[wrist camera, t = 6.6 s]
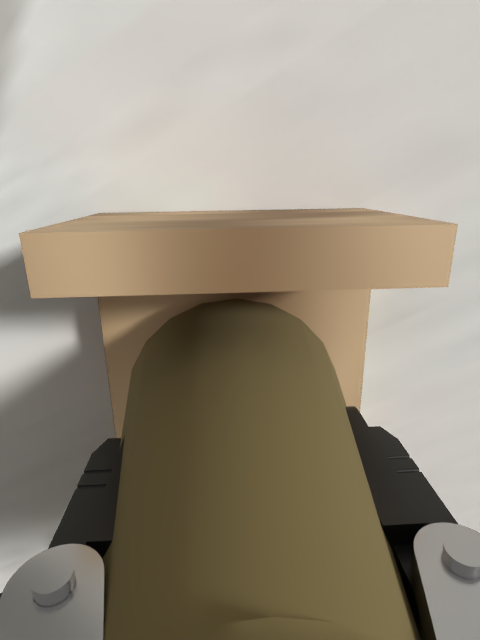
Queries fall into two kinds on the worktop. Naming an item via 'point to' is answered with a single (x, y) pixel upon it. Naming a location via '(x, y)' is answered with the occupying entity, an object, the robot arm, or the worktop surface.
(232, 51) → the worktop surface
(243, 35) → the worktop surface
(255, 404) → the olive rounded piece
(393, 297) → the worktop surface
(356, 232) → the light brown wooden holder
